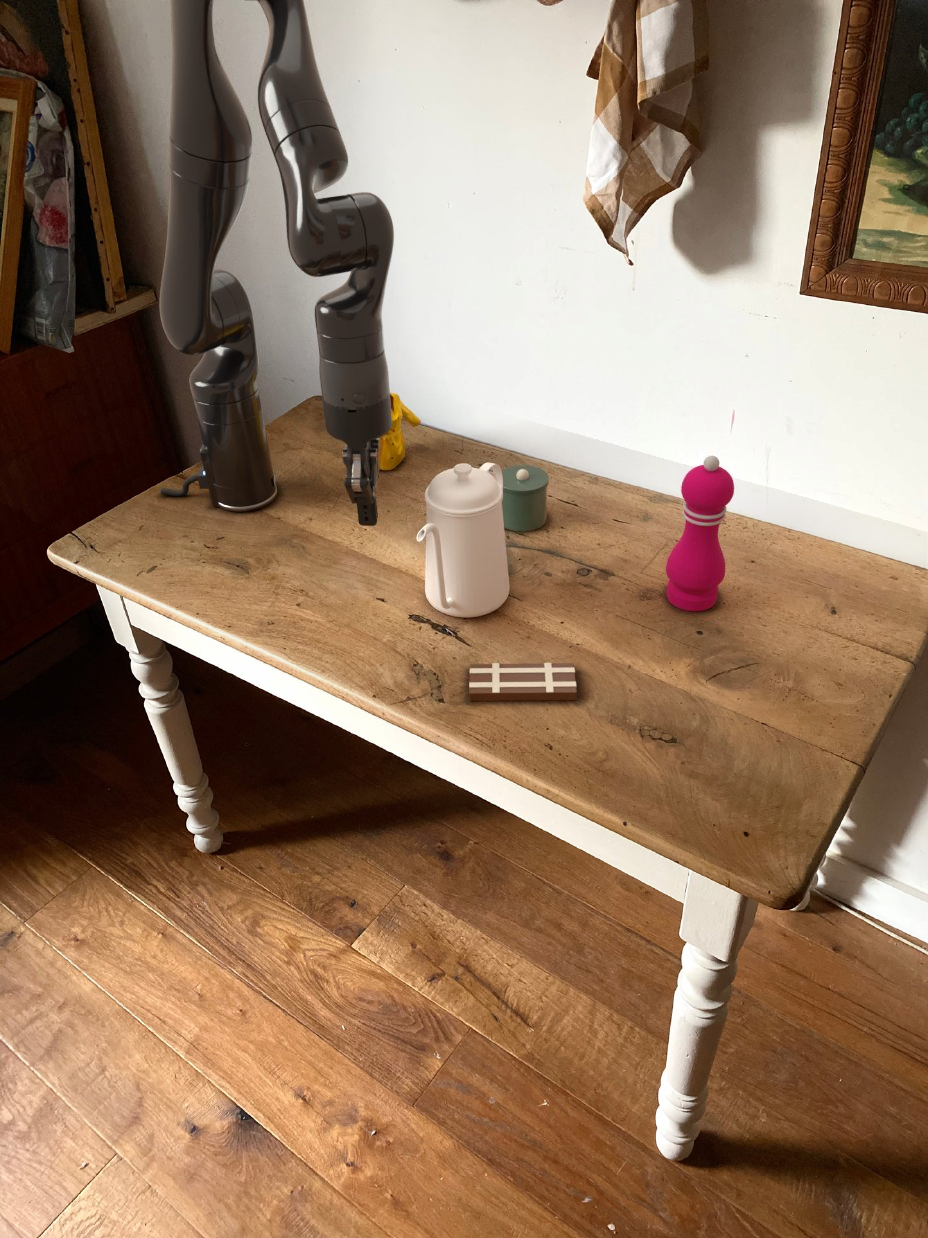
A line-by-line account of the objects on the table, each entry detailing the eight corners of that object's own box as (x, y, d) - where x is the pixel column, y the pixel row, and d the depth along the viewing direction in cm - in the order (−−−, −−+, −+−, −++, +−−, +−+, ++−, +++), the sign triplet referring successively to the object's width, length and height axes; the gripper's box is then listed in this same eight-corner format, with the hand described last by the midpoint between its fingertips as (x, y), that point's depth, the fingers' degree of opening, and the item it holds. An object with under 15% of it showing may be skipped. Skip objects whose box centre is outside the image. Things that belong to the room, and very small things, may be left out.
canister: (496, 532, 130) (496, 483, 125) (496, 505, 136) (496, 457, 131) (549, 532, 130) (550, 482, 125) (546, 505, 136) (547, 456, 131)
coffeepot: (386, 646, 111) (371, 513, 99) (463, 539, 129) (458, 416, 117) (469, 666, 107) (464, 531, 96) (536, 554, 125) (539, 428, 114)
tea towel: (469, 701, 103) (469, 692, 102) (470, 671, 107) (469, 663, 106) (576, 700, 102) (577, 691, 101) (573, 670, 106) (573, 662, 105)
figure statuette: (373, 490, 140) (358, 352, 127) (331, 479, 144) (313, 343, 130) (431, 441, 153) (423, 310, 139) (391, 432, 156) (380, 303, 142)
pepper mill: (723, 585, 118) (748, 446, 106) (716, 618, 113) (741, 475, 101) (667, 576, 120) (685, 438, 108) (658, 608, 115) (675, 467, 103)
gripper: (330, 365, 106) (345, 494, 117) (312, 416, 96) (330, 553, 107) (394, 365, 106) (403, 494, 117) (383, 416, 96) (394, 553, 107)
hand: (368, 522), depth 112 cm, fingers closed
